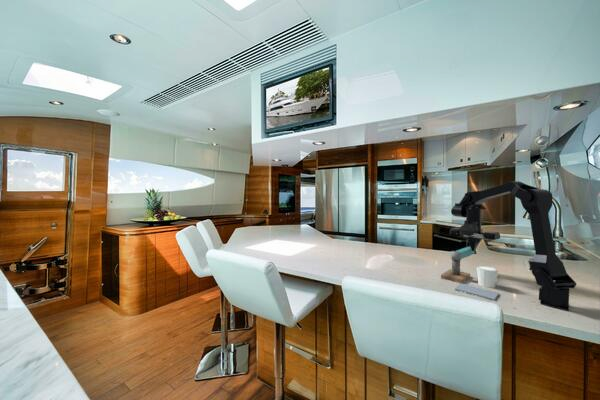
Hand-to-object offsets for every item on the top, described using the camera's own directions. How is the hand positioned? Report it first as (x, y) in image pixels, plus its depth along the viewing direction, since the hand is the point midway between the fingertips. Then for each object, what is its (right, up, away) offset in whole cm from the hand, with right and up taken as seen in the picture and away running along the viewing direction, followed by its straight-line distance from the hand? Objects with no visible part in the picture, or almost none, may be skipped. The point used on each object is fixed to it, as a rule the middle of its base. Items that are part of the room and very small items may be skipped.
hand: (473, 251), depth 110 cm
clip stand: (-13, -10, -6) cm, 17 cm away
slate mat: (-15, -11, -21) cm, 28 cm away
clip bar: (-6, -2, -2) cm, 6 cm away
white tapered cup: (-5, -11, -14) cm, 19 cm away
